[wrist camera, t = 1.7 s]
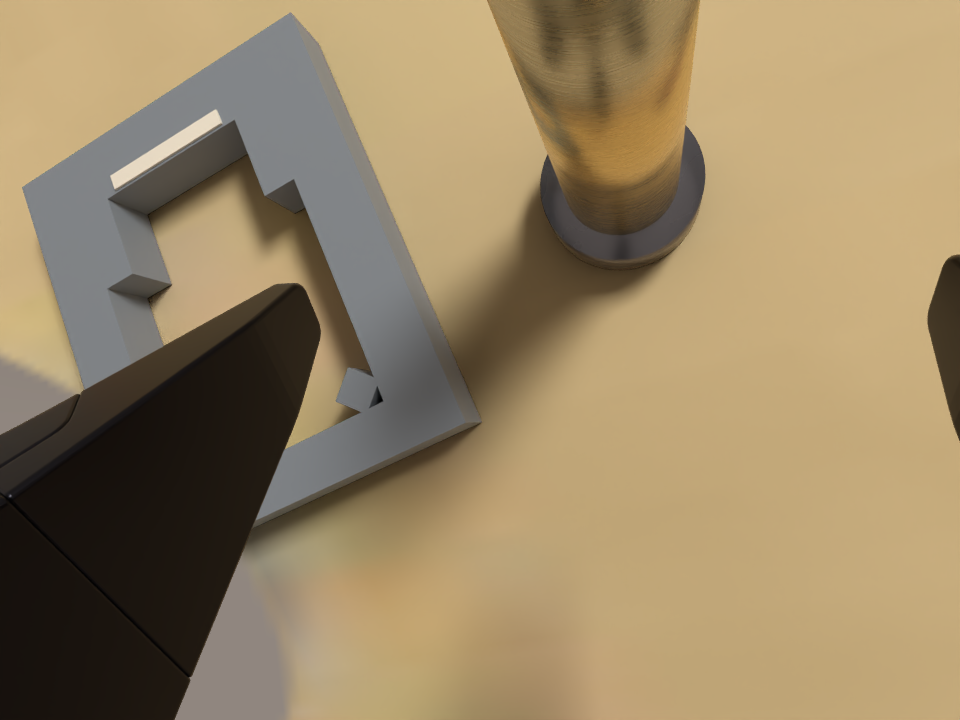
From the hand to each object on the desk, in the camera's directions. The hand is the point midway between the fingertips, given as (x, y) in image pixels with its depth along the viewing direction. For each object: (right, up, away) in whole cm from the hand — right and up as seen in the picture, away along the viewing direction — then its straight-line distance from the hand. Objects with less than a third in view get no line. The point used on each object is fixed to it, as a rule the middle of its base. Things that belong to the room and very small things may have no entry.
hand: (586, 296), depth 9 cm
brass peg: (+3, +5, +12) cm, 13 cm away
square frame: (-10, +1, +15) cm, 19 cm away
